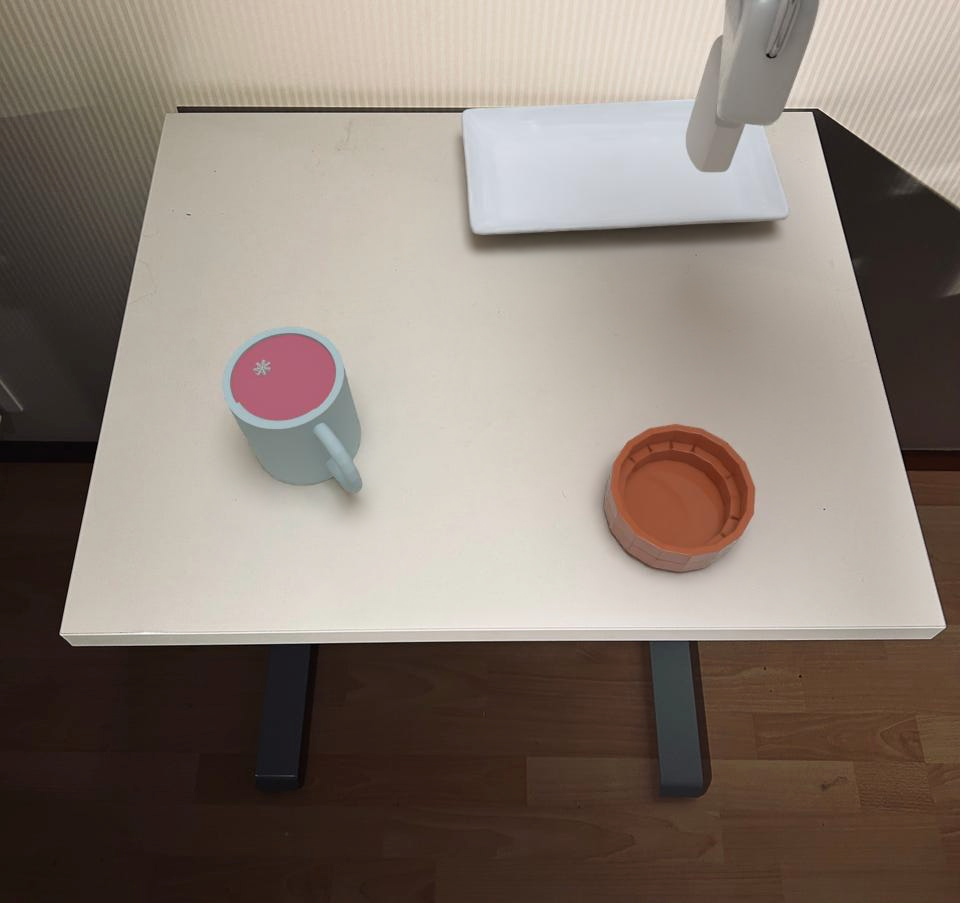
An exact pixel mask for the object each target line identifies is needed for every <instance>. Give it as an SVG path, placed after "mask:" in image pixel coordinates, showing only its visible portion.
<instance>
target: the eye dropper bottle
mask: <svg viewBox="0 0 960 903" xmlns="http://www.w3.org/2000/svg"><path fill="white" fill-rule="evenodd" d="M722 39H723V34H720V35H719V36H718V37H717V38H716V39H715V40H714V41H713V43H712V45H711V48H710V50H709V54H708V57H707V60H706V63H705V67H704V70H703V73H702V77H701V80H700V82H699V83H700V84H699V87H698V90H697V92H696V93H697V94H696V97H695V99H696V100H695V103H694V107H693V110H692V114H691V117H690V120H689V124H688V127H687V132H686V149H687V153H688V155H689V157H690V159H691V161H692V163H693V164H694V166H695V167H696V168H697V169H698V170H699V171H701V172H725V171H727V170H728V169H729V167H730V165H731V162H732V159H733V157H734V154H735V151H736V149H737V146H738V143H739V141H740V138H741V135H742V133H743V130H744V127H745V124H741V125H740V127H738V128H735V129H732V128H725V127H718V126H717V125H716V124H715V111H716V105H717V101H718V89H719V76H720V64H721V52H722Z"/></svg>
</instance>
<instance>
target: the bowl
mask: <svg viewBox="0 0 960 903" xmlns="http://www.w3.org/2000/svg"><path fill="white" fill-rule="evenodd" d="M605 486H606V487H605V494H604V500H603V509H604V512H605V517H606V520H607V523H608V526H609V530H610V532H611V533H612V534H613V536H614V537H615V538H616V539H617V541H618V542H619V543H620V544H621V546H622V547H623V549H624V550H625V551H626V552H627V553H628V554H630V555H631V556H633V557H634V558H636V559H638V560H639V561H641V562H643V563H644V564H646V565H647V566H650V567H651V568H656V569H661V570H666V571H670V572H677V573H684V572H689V571H695V570H699V569H705V568H708V567H710V566H711V565H712V564H714V563H715V562H717V561H718V560H719V559H721V558H722V557H724V556H725V555H727V554H728V553H729V552H730V550H731V549H732V548H733V546H735V545H736V543H737V542H738V540H740V538H741V537H742V536H743V534H744V532H745V530H746V528H747V527H748V525H749V523H750V521H751V520H752V518H753V516H754V514H755V502H756V501H755V500H756V498H755V497H756V486H755V483H754V480H753V478H752V476H751V473H750V470H749V467H748V465H747V463H746V461H745V460H744V459H743V458H742V456H740V454H739V453H737V451H736V450H735V449H734V448H733V447H732V446H731V445H730V443H729V442H727V441H726V440H724V439H722V438H720V437H719V436H717V435H715V434H713V433H711V432H709V431H707V430H706V429H703V428H701V427H694V426H689V425H683V424H677V423H673V424H667V425H662V426H655V427H650V428H647V429H645V430H644V431H642V432H641V433H639V434H637V435H636V436H634V437H633V438H631V439H629V440H628V441H627V442H626V443H625V445H623V448H622V449H621V450H620V452H619V454H618V455H617V457H616V458H615V460H614V461H613V464H612V467H611V469H610V473H609V475H608V478H607V481H606V485H605Z"/></svg>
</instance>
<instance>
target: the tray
mask: <svg viewBox="0 0 960 903" xmlns="http://www.w3.org/2000/svg"><path fill="white" fill-rule="evenodd" d="M695 100H696V98H678V99H676V98H675V99H657V100H656V99H655V100H635V101H634V100H633V101H631V100H630V101H611V102H609V101H608V102H593V103H592V102H590V103H566V104H545V105H524V106H523V105H521V106H502V107H501V106H500V107H499V106H497V107H495V106H493V107H475V108H466V109H465V110H463V111H462V113H461V117H460V122H461V123H460V124H461V134H462V143H463V150H464V151H463V152H464V165H465V175H466V177H465V178H466V191H467V206H468V219H469V220H468V221H469V227H470V230H471V232H472V233H473V234H475V235H479V236H481V235H483V236H486V235H487V236H488V235H510V234H511V235H512V234H513V235H514V234H531V233H533V234H535V233H549V232H550V233H552V232H570V231H571V232H572V231H573V232H574V231H589V230H590V231H595V230H615V229H632V228H633V229H634V228H635V229H636V228H651V227H667V226H686V225H704V224H705V225H706V224H726V223H729V224H730V223H755V222H757V223H758V222H772V221H773V222H775V221H777V222H778V221H784V220H787V218H789V216H790V212H791V210H790V205H789V201H788V199H787V196H786V193H785V189H784V186H783V183H782V180H781V176H780V174H779V171H778V166H777V164H776V161H775V158H774V154H773V151H772V147H771V144H770V141H769V136H768V134H767V131H766V130H767V129H766V126H758V125H749V124H745V127H744V130H743V133H742V135H741V138H740V141H739V143H738V146H737V149H736V151H735V154H734V157H733V159H732V162H731V165H730V167H729V169H728V170H727V171H725V172H701V171H699V170H698V169H697V168H696V167H695V166H694V164H693V163H692V161H691V159H690V157H689V155H688V153H687V149H686V132H687V127H688V124H689V120H690V117H691V114H692V110H693V107H694V103H695Z"/></svg>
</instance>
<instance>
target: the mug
mask: <svg viewBox="0 0 960 903" xmlns="http://www.w3.org/2000/svg"><path fill="white" fill-rule="evenodd" d="M221 378H222V379H221V389H222V395H223V398H224V400H225V402H226V405H227V407H228V408H229V410H230V412H231V414H232V415H233V418H234V419H235V421H236V423H237V425H238V426H239V428H240V430H241V431H242V433H243V435H244V437H245V439H246V440H247V443H248V445H249V446H250V448H251V450H252V451H253V453H254V455H255V457H256V458H257V460H258V462H259V465H260V466H261V467H262V469H263V470H264V471H265V472H266V473H267V474H269V475H270V476H271V477H273V478H274V479H275V480H278V481H279V482H282V483H285V484H289V485H294V486H311V485H316V484H320V483H323V482H325V481H328V480H330V479H332V478H334V479H335V480H336V481H337V483H338V484H339V485H340V486H341V487H342V488H343V489H344V490H345V491H346V492H347V493H349V494H358V493H359V492H360V491H361V490H362V488H363V480H362V477H361V474H360V472H359V470H358V468H357V466H356V464H355V462H354V461H353V460H354V458H355V457H356V455H357V453H358V451H359V448H360V444H361V439H362V428H361V423H360V420H359V417H358V413H357V409H356V405H355V402H354V401H355V400H354V398H353V394H352V391H351V387H350V383H349V378H348V376H347V372H346V368H345V364H344V361H343V357H342V356H341V353H340V351H339V350H338V348H337V347H336V345H335V344H334V343H333V342H332V341H331V340H330V339H328V337H326V336H325V335H323V334H322V333H319V332H318V331H316V330H313V329H309V328H306V327H301V326H280V327H274V328H270V329H267V330H264V331H262V332H258V333H257V334H255V335H253V336H252V337H250V338H248V339H247V340H246V341H245V342H243V343H242V344H241V345H239V346H238V347H237V348H236V349H235V351H234V352H233V353H232V354H231V356H230V358H228V361H227V362H226V364H225V367H224V370H223V374H222V377H221Z"/></svg>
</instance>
